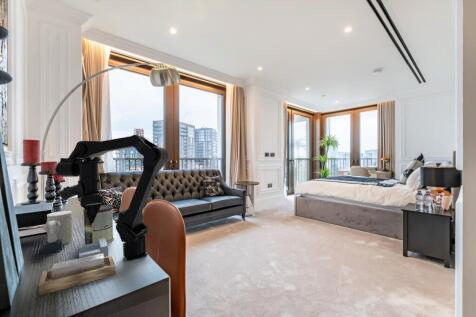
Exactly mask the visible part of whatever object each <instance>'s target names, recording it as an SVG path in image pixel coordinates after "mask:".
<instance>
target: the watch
mask: <svg viewBox="0 0 476 317" xmlns="http://www.w3.org/2000/svg"><path fill="white" fill-rule="evenodd" d="M60 226H61V224H60V222H58V221H50V222H47V221H46V223H45V224H44V226H43V227H42V229H43V230H44V231H45V232H46V233H47V241H44V242H43V243H42V255H47V254H52V253H56V252H61V251H63V245H62V239H59V240H57V232H58V231H59V229H60Z"/></svg>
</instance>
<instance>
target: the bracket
mask: <svg viewBox="0 0 476 317" xmlns="http://www.w3.org/2000/svg"><path fill="white" fill-rule="evenodd" d="M98 240H99V242H97V243H92V244H87V245H85V244H83V245H78V257H79V258H84V257H88V256H93V255H98V254H102V253H103V255H104V257H106V256H109V244H108V243H107V242H106V239H105V237H104V238H99V239H98ZM79 258H78V259H79Z"/></svg>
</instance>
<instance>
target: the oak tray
mask: <svg viewBox="0 0 476 317" xmlns="http://www.w3.org/2000/svg"><path fill="white" fill-rule="evenodd" d="M116 272H117V271H116V263H115V260H114V258H113V256H112V254H111V255H108V256H106V257H104V267H103V268H99V269H95V270H91V271H87V272H83V273H79V274H76V275H72V276H68V277H64V278H60V279H56V280H53V281H52V268H51V269H47V270H44V271H42V273H41V277H40V280H39V284H38V297H41V296H45V295H48V294H52V293H55V292H58V291H62V290H65V289H68V288H73V287H76V286H80V285H83V284H86V283H91V282H93V281H96V280H101V279H104V278H108V277H111V276H115V275H116V274H117V273H116Z"/></svg>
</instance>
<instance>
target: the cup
mask: <svg viewBox="0 0 476 317" xmlns="http://www.w3.org/2000/svg"><path fill="white" fill-rule="evenodd" d="M46 217H47V218H46V223H47V222H50V221H58V222H60V224H61V226H60V229H59V231H58V232H57V240H59V239H62V246H63V245H66V244H70V243H71V242H73V240H74V236H73V235H74V234H73V233H74V232H73V211H71V210H61V211H55V212H50V213H48V214H46Z"/></svg>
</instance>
